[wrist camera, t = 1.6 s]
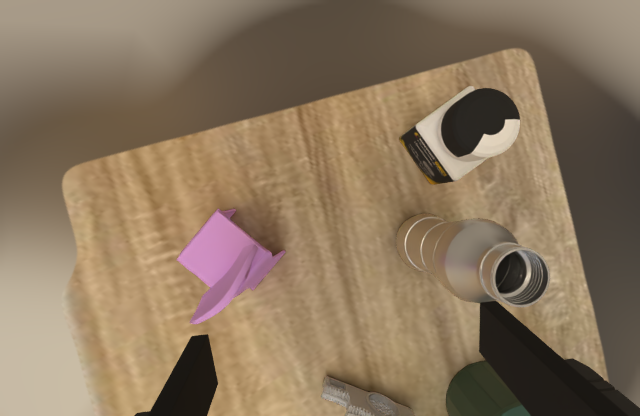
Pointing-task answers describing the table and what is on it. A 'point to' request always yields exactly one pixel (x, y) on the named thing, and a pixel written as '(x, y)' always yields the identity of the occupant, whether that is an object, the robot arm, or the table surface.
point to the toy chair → (225, 262)
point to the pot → (478, 392)
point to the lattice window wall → (361, 400)
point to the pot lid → (513, 410)
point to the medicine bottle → (462, 134)
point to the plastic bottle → (474, 259)
